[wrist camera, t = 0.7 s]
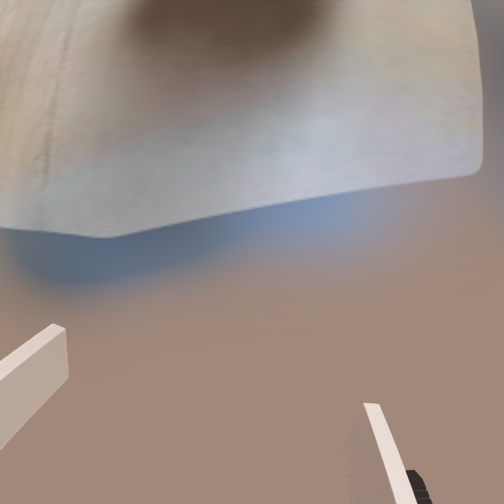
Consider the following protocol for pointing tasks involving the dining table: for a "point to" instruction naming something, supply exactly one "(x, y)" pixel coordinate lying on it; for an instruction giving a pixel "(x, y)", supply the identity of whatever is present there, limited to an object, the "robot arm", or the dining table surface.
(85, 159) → the dining table surface
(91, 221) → the dining table surface
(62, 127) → the dining table surface
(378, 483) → the robot arm
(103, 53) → the dining table surface
